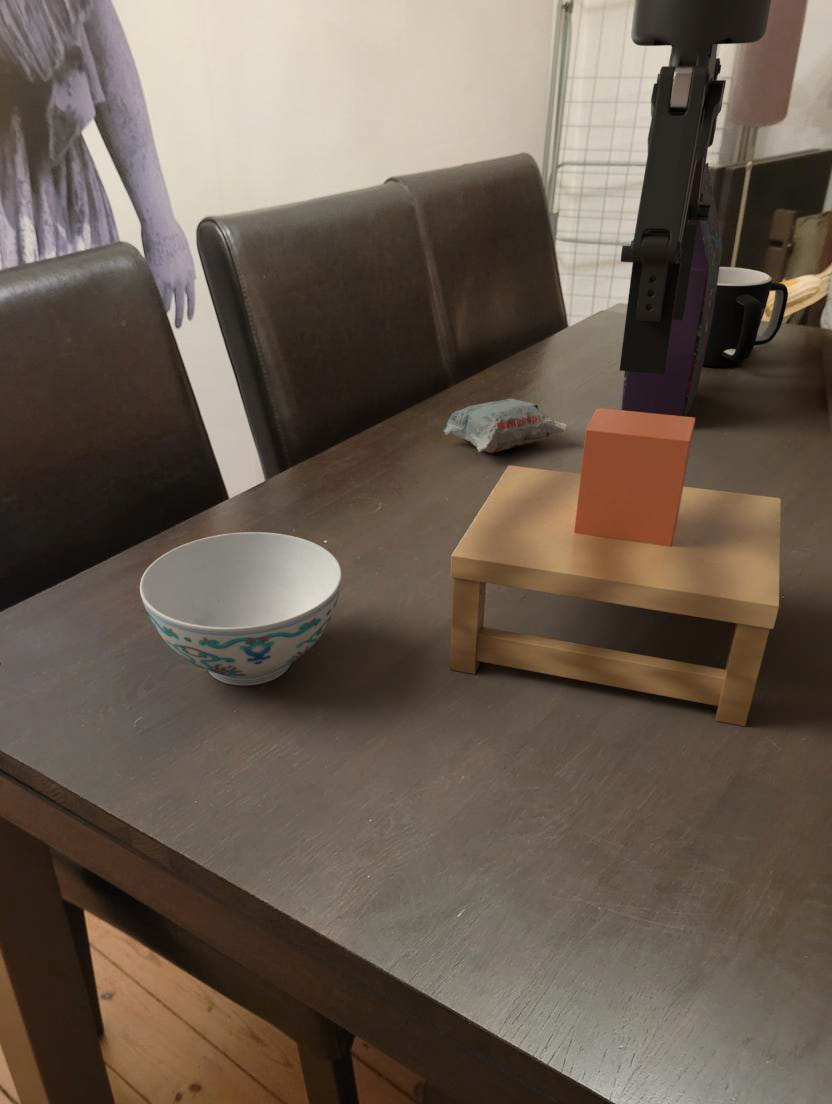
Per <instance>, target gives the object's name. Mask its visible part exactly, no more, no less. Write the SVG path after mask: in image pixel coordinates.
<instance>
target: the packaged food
mask: <svg viewBox="0 0 832 1104" xmlns="http://www.w3.org/2000/svg"><path fill="white" fill-rule="evenodd" d="M566 429H567V424H565V423H563V422H559V421H556V420H553V419H551V417H549V416H548V415H546V414H545V413H544V412H543V411H541V410H540V409H539V405H538V404H536V403H532V402H528V401H524V400H520V399H516V398H505V399H501V400H495V401H488V402H483V403H479V404H473V405H468V406H466V407H464V408H461V409H458V410H456V411H454V412H453V413H451V414H450V416H449V418H448V419H447V420H446V421H445V426H444V427H443V434H444V435H450V434H452V435H454V436H455V437H456V438H459V439H462V440H463V441H465V442H467V443H468V444H470V445H472V446H473V447H475V448H476V450H477V452H478V453H482V452H487V453H490V454H494V453H498V452H503V451H506V450H509V449H510V450H511V449H515V448H522V447H525V446H528V445H531V444H534V443H538V442H541V441H546V440H548V439H551V437H553V436H556V435H558V434H560V433H563V432H564V431H566Z"/></svg>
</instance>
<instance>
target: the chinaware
mask: <svg viewBox="0 0 832 1104" xmlns="http://www.w3.org/2000/svg"><path fill="white" fill-rule="evenodd" d="M342 578H343V573H342V569H341V565H340V563H339V562H338V560H337V558H336V557H335V556H334V555H333V554H332V553H331V552H330V551H328V550H327V549H325V548H324V547H323V546H321V545H319V544H317V543H315V542H312V541H310V540H307V539H305V538H302V537H297V536H293V535H289V534H285V533H284V534H282V533H275V532H266V531H265V532H264V531H248V532H247V531H245V532H232V533H224V534H223V533H222V534H217V535H212V536H207V537H203V538H200V539H196V540H192V541H190V542H186V543H184V544H182V545H180V546H177V547H175V548H172V549H171V550H169V551H167V552H166V553H164V554H162V555H161V556H160V557H158V558H156V559H155V560H154V561H153V562H152V563H151V564H150V565H149V566H148V567H147V568H146V569H145V571H144V573H143V574H142V576H141V578H140V583H139V594H140V597H141V601H142V603H143V606H144V608H145V610H146V613H147V615H148V617H149V619H150V621H151V623H152V624H153V626H154V628H155V629H156V631H157V632H158V634H159V636H160V637H161V638H162V639H163V640H164V642H165V643H166V644H167V645H168V646H169V647H170V648H171V649H172V650H173V651H174V652H175V653H177V654H178V655H179V656H180V657H182V658H183V659H184V660H186V661H187V662H189V663H191V664H192V665H194V666H196V667H197V668H201V669H202V670H205V671H208V673H209V674H210V675H211V677H213V679H216V680H218V681H219V682H221V683H224V684H228V685H233V686H257V685H262V684H265V683H268V682H271V681H273V680H275V679H277V678H279V677H280V676H282V675H284V673H286V672H287V671H288V670H289V668H290V666H291V664H292V663H293V662H295V661H297V660H298V659H299V658H301V657H302V656H303V655H304V654H306V653H307V652H308V651H309V650H311V648H312V647H313V646H314V645H315V644H316V643H317V641H318V640H319V638H321V636H322V635H323V633H324V632H325V630H326V629H327V627H328V625H329V624H330V621H331V620H332V617H333V615H334V612H335V609H336V606H337V604H338V600H339V596H340V593H341V585H342V581H343V580H342Z"/></svg>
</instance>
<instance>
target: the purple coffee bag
mask: <svg viewBox="0 0 832 1104" xmlns="http://www.w3.org/2000/svg"><path fill="white" fill-rule="evenodd" d="M702 192H703V194H704V196H703V201H702V202H700V204H710V210H709V216H708V221H700V220H689V223H698V226H697V232H696V239H695V245H694V252H693V258H692V265H691V271H690V278H689V284H688V290H687V297H686V303H685V310H684V316H683V320H672V327H671V334H670V341H669V347H668V354H667V361H666V367H665V372H664V374H656V373H643V372H630V371H624V374H623V385H622V387H623V388H622V399H621V410H624V411H634V412H644V413H654V414H664V415H674V416H684V417H688V413H689V411H690V409H691V407H692V404H693V402H694V399H695V397H696V395H697V392H698V390H699V389H698V388H699V384H700V381H701V380H700V379H701V375H702V371H703V367H704V365H703V361H704V357H705V352H706V348H707V343H708V339H709V334H710V329H711V324H712V318H713V311H714V304H715V297H716V289H717V282H718V275H719V267H721V259H722V254H723V253H722V251H723V241H722V236H721V229H720V224H719V218H718V213H717V207H716V201H715V195H714V189H713V184H712V178H711V173H710V166H709V162H706V166H705V174H704V181H703V189H702Z"/></svg>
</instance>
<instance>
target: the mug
mask: <svg viewBox="0 0 832 1104" xmlns="http://www.w3.org/2000/svg"><path fill="white" fill-rule="evenodd" d="M770 292H775V293H774V300H773V305H772V310H771V314H770V318H769V321H768V324H767V326H766V327H765V329H764V330H763V332H762V333H761V334H759V333H758V332H759V329H760V327H761V323H762V321H763V317H764V315H765V312H766V307H767V304H768V300H769V297H770ZM788 299H789V291H788V286H786V284H784V283H782V282H773V278H772V276H771V275H769V274H768V273H766V272H762V271H760V270H755V269H750V268H743V267H734V266H733V267H732V266H720V267H719V275H718V282H717V289H716V297H715V304H714V311H713V318H712V324H711V329H710V334H709V339H708V343H707V348H706V352H705V357H704V361H703V366H704V365H707V366H706V367H715V366H720V367H731V365H732V366H735V365H739V364H741V363H743V362H744V361H745V360H746V359H748V358H749V357H750V356H751V354H752V352H753V350H754V348H755V346H761V345H766V344H769V342H771V341H772V340H773V339H774V338H775V337H776V336H777V334H778V332H779V330H780V329H781V326H782V323H783V320H784V317H785V312H786V308H787V303H788Z"/></svg>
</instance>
